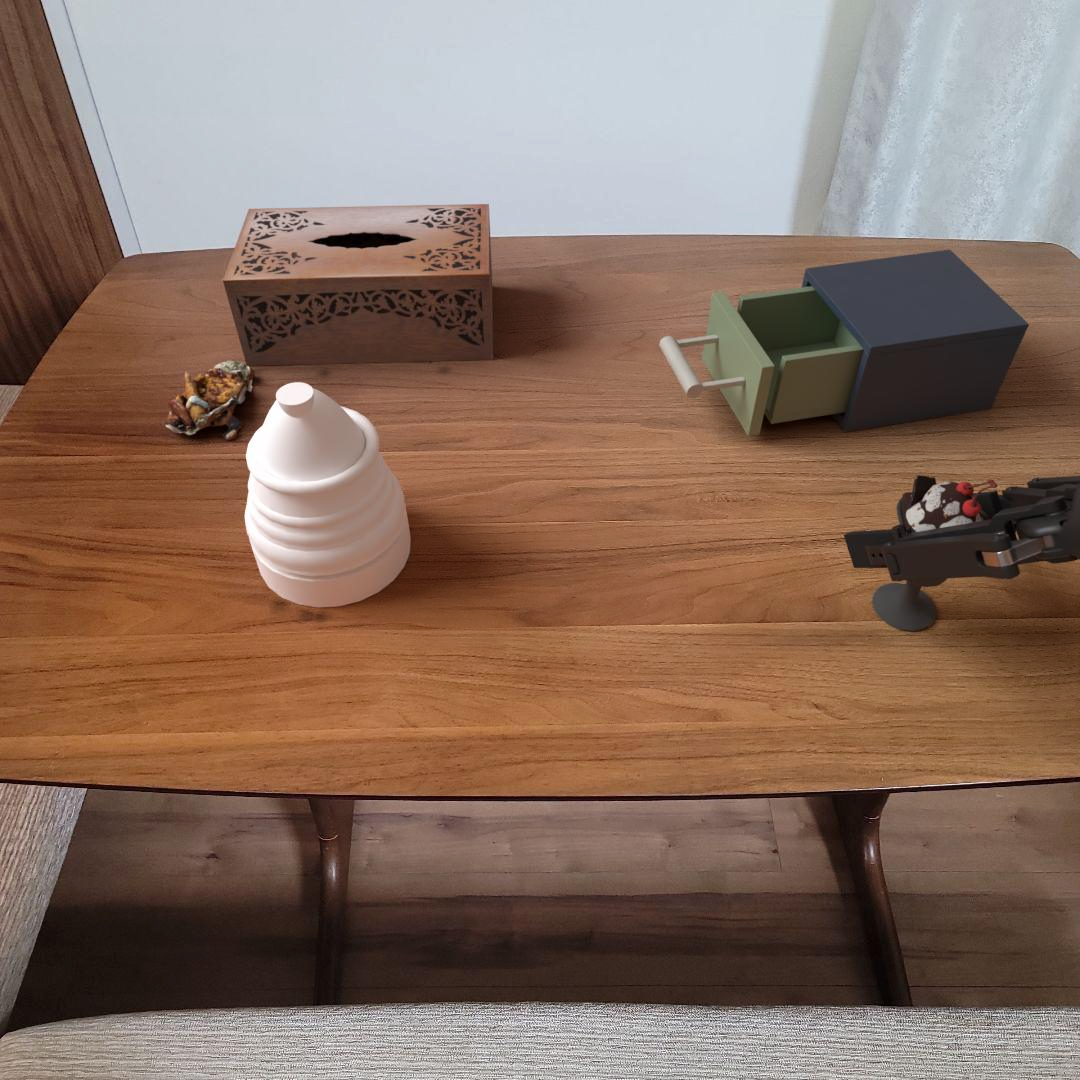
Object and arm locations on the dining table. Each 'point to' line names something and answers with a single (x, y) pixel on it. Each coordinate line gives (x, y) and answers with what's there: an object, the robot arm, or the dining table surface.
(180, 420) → the dish of fried food
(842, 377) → the drawer
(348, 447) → the honey pot
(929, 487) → the sundae
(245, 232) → the tissue box cover
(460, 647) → the dining table surface
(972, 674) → the dining table surface
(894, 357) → the cabinet
